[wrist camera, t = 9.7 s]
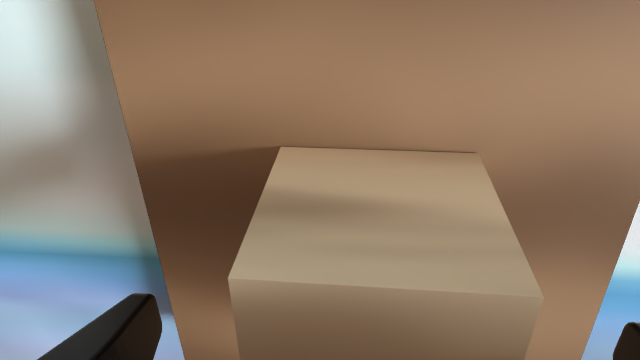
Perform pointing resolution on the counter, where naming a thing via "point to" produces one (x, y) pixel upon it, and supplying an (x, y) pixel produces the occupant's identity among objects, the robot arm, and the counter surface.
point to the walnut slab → (383, 127)
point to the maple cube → (381, 261)
